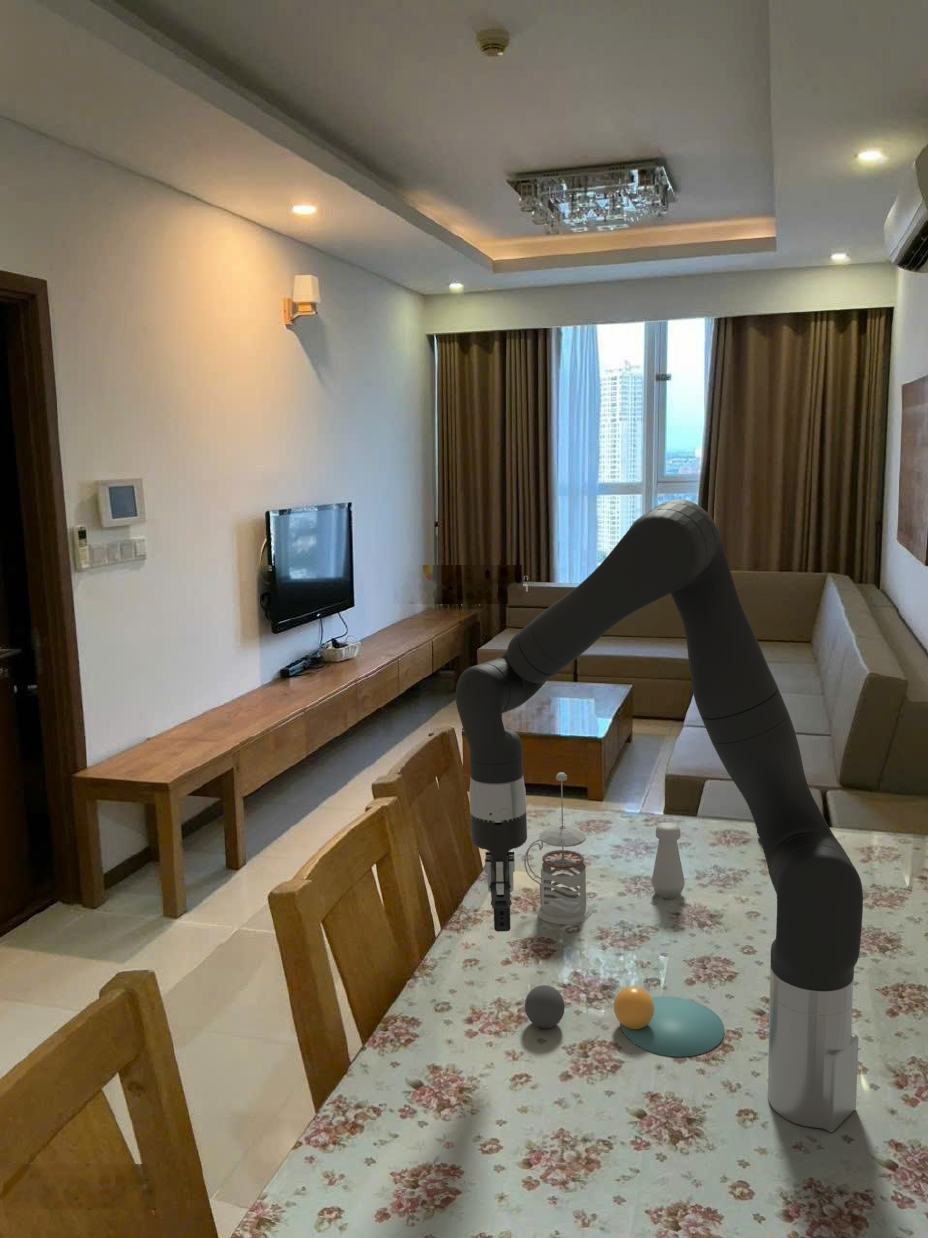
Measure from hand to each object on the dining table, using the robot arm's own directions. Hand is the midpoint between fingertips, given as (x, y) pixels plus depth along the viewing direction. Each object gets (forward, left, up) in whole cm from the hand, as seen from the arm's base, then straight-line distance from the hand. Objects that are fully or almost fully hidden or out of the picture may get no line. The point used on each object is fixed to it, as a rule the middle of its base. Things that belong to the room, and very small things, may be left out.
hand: (502, 929), depth 131 cm
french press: (+18, -31, -15) cm, 39 cm away
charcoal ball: (-4, -4, -12) cm, 13 cm away
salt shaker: (+8, -49, -15) cm, 52 cm away
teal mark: (-16, -16, -15) cm, 27 cm away
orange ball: (-13, -12, -12) cm, 21 cm away
